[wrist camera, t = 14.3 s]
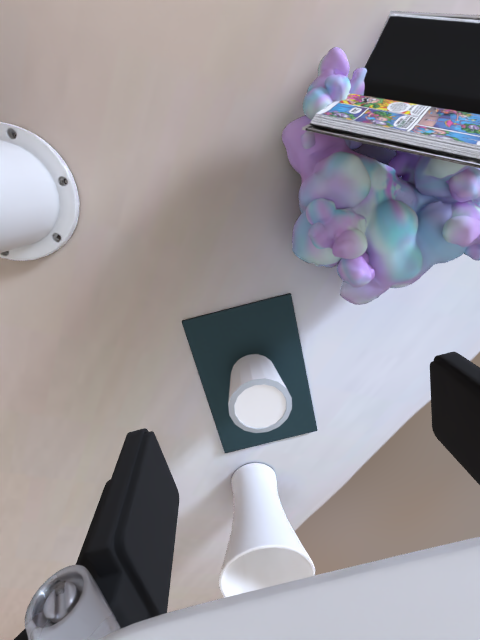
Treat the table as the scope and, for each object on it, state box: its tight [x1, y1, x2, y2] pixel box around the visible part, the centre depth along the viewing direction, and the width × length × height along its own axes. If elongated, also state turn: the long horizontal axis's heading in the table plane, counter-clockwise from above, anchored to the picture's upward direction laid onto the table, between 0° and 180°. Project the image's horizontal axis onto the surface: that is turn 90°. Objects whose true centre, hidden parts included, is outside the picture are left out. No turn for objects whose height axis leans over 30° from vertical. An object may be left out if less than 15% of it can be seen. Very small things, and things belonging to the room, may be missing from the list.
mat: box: [182, 294, 317, 453], centre depth 43 cm, size 13×20×1 cm, turn 14°
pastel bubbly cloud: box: [282, 11, 480, 305], centre depth 28 cm, size 20×22×18 cm
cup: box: [219, 463, 315, 597], centre depth 43 cm, size 10×10×14 cm
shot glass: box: [228, 354, 292, 433], centre depth 39 cm, size 7×7×7 cm
